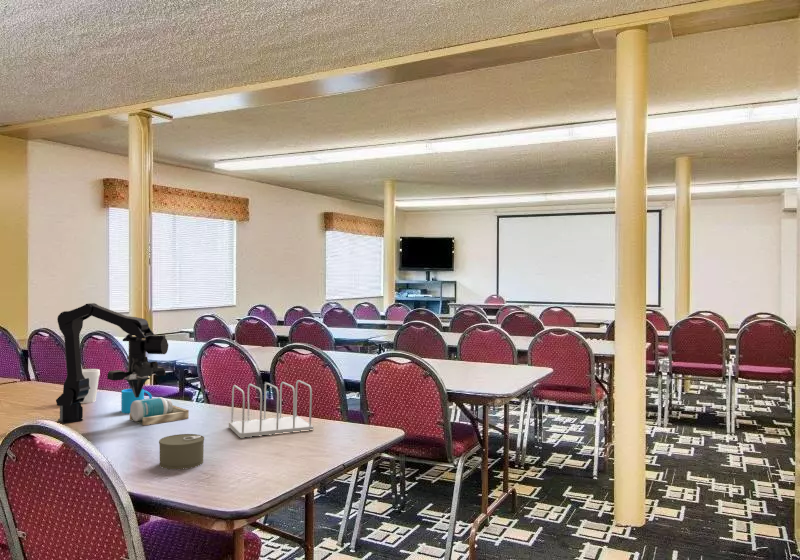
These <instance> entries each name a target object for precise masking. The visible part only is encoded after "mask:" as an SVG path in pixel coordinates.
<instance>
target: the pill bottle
mask: <svg viewBox="0 0 800 560" xmlns="http://www.w3.org/2000/svg"><path fill="white" fill-rule="evenodd" d="M172 409H173V402H172V400H171V399H165V398H164V397H161V396H160V397H152V398H151V399H149V398H144V399H143V400H136V401H133V402H132V404H131V409H130V412H131V416H132V419H133V420H134V421H142V420H143V418H144V417H150V416H157V415H163V414H166V413H169V412H171V411H172ZM134 421H133V422H134Z"/></svg>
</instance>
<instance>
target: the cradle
mask: <svg viewBox="0 0 800 560" xmlns="http://www.w3.org/2000/svg"><path fill="white" fill-rule="evenodd" d="M189 411H190V410H189V409H186V408H183V407H179V406H176V405H173V409H172V411H171V412H169V413H166V414H163V415H157V416H150V417H144V418H143V420H142V421H134V420H133V419H132V416H131V413H129V421H131V422H134V423H137V424H139V425H142V426H150V424H151V425H157V424H162V423H168V422H175V421H180V420H188V419H189V415H190V413H189Z"/></svg>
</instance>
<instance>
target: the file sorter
mask: <svg viewBox="0 0 800 560" xmlns="http://www.w3.org/2000/svg"><path fill="white" fill-rule="evenodd" d="M299 383H301V384H303V385H304V386H307V387H308V388H309V417H308V418H309V419H308V421H309V422H308V421H307V420H305V419H304V418H301V417H300V416H298V415H297V414H298V411H297V410H298V384H299ZM283 385H285V386H287V387H289V388H291V389H292V396H293V397H292V400H293V401H292V406H293V407H292V415H291V416H283V417H282V399H283V398H282V397H283V395H282V393H283ZM267 386H269V387H272V388H274V389H275V391H276V417H269V418H267V417H266V415H267V413H266V410H267ZM250 387H252V388H255V389H257V390H258V391H259V396H260V397H259V401H260V402H259V418H258V419H250ZM235 389H237V390H238V391H240V392H241V394H242V417H241V418H242V420H237V421H236V420H235V421H234V407H235V405H234V402H235V401H234V400H235V399H234V398H235ZM263 393H264V394H263ZM263 395H264V396H263ZM245 397H246V395H245V392H244V390H243V389H242V388H240V387H239V386H237V385H236V384H233V385H232V390H231V418H230V419H231V421H228V428H229V429H230V430H232V432H233V433H234V434H235V435H236V436H238V437H240V438H239V439H245V438H244V437H250V438H253V437H252V436H259V435H269V434H275V433H283V432H293V431H301V430H310V429H313V430H314V426H313V424H312V411H313V410H312V408H313V407H312V406H313V405H312V404H313V403H312V402H313V401H312V400H313V389H312V386H311V385H310V384H308V383H307V382H305V381H303V380H300V379H297V380H296V382H295V387H294V385H291V384H289V383H287V382H285V381H281V383H280V385H279V388H278V386H276V385H273V384H272V383H269V382H265V384H264V391H263V392H262V389H261V387H259V386H256V385H255V384H252V383H249V384H248V385H247V419H246V420H245V410H246V409H245V405H246V404H245V403H246V401H245ZM263 400H264V401H263ZM262 411H263V412H262Z"/></svg>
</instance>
